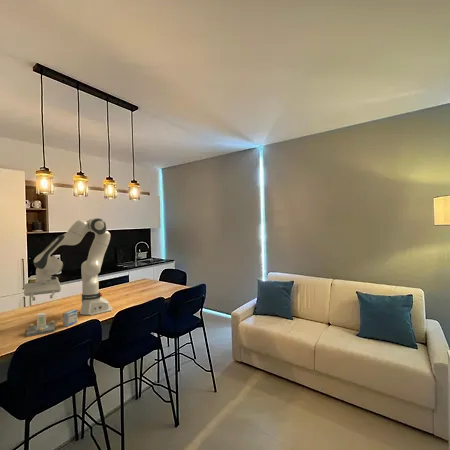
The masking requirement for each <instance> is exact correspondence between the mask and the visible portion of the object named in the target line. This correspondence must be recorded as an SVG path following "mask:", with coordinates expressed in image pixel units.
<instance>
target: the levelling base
mask: <svg viewBox="0 0 450 450" xmlns="http://www.w3.org/2000/svg"><path fill="white" fill-rule="evenodd" d="M55 331H56V322H55V320H54V319H53V320H49V322H48V323H47V322H46V328H43V327H41V328H38V329H37V324H36V325H34V323H29V324H28V327H27V330H26V334H25V338H26V337H33V336H37V335H44V334H49V333H55Z"/></svg>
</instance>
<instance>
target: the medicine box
mask: <svg viewBox="0 0 450 450" xmlns="http://www.w3.org/2000/svg"><path fill="white" fill-rule="evenodd" d="M77 323H78V309H69V310H68V311H65V312H62V327H67V328H68V327H70V326H73V325H74V324H77Z"/></svg>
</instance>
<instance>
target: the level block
mask: <svg viewBox="0 0 450 450" xmlns="http://www.w3.org/2000/svg"><path fill="white" fill-rule="evenodd" d="M46 324H47V312H40V313H37V314H36V325H37V329H38V328H41V327H43V328H46Z"/></svg>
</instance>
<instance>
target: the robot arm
mask: <svg viewBox="0 0 450 450" xmlns="http://www.w3.org/2000/svg"><path fill="white" fill-rule="evenodd" d="M88 232H90V233H94V239H93V241H92V243H91V246H90V247H89V251H88V256H87V259H86V260H85V261H83V262H82V263H81V265H80V266H81V267H80V269H81V284H82V291H81V292H82V293H81V307H80V311H79V314H80V315H84V316H85V315H87V316H94V315H98V314H102V313H108V312H112V311H113V306H111V305H110V301H108V300H107V299H106V298H105V297H103V296H104V295H103V293H102V292H99V286H100V284H99V283H100V282H99V276H98V275H99V273H101V268H102V265H103V262H104V257H105V254H106V252H107V249H108V246H109V244H110V242H111V241H110V240H111V233H110V232H109V231H108V230H107V224H106V221H105V220H103V218H98V217H96V218H95V217H94V218H92V219H89V220H87V221H85V220H83V219H78V220H76V221H75V222H74V223H72V225H71V227H69V229H68V230H67V231H66V233H65V232H64V234H60V235H57V237H56V238H54V239H53V240H52V241H51V242H50V244H48V245H47V246H46V247H45V248H44V249H43V250H42V251H41V252H40V253H38V254H37V255H36V256H35V257H34V258H33V265H34V267H35V268H36V269H35V275H36V276H35V280H34V281H35V282H34V281H33V282H27V283H24V285H23V289H24V290H23V296H25V297H29V296H30V298H31V300H32V301H36V296H37V295H47V294H50V295H49V299H53V297H54V295H55V294H56V293H60V292H61V291H62V290H61V288H62V286H61V282H60V281H59V277H57V276H53V275H57V274H59V273H60V272H61V271H62V270H63V267H64V262H63V261H62V260H60V259H58V258H55V257H53V256H51V255H52V254H53V253H55V251H56V250H57V249H58V248H59V247H60V246H76V245H78V244H80V243H81V242H82V240H83V238H84V237H85V236H86V234H88Z"/></svg>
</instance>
